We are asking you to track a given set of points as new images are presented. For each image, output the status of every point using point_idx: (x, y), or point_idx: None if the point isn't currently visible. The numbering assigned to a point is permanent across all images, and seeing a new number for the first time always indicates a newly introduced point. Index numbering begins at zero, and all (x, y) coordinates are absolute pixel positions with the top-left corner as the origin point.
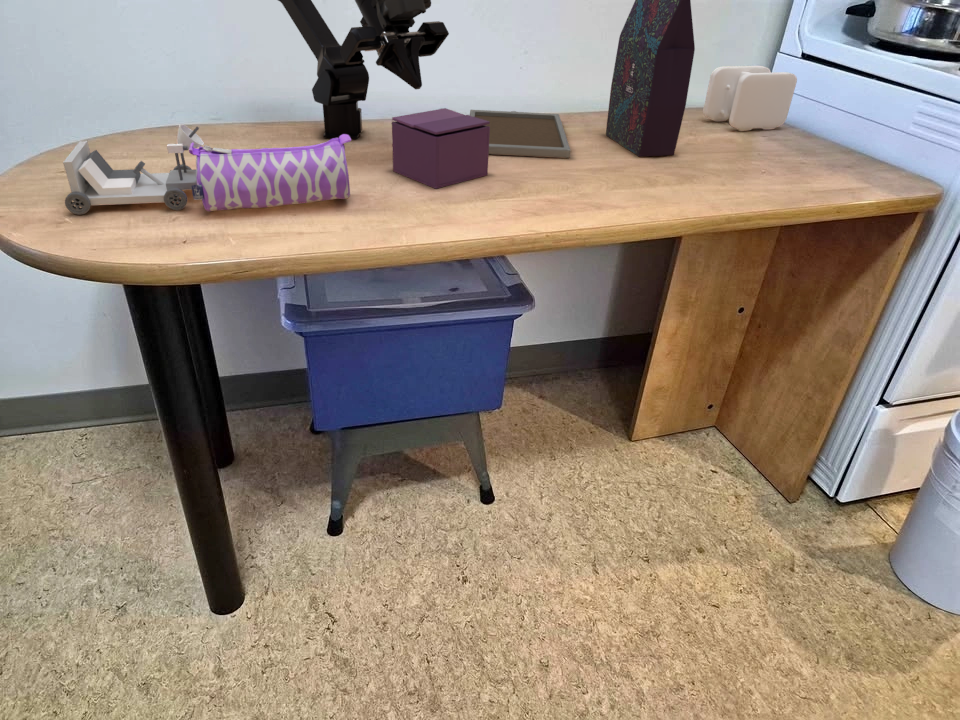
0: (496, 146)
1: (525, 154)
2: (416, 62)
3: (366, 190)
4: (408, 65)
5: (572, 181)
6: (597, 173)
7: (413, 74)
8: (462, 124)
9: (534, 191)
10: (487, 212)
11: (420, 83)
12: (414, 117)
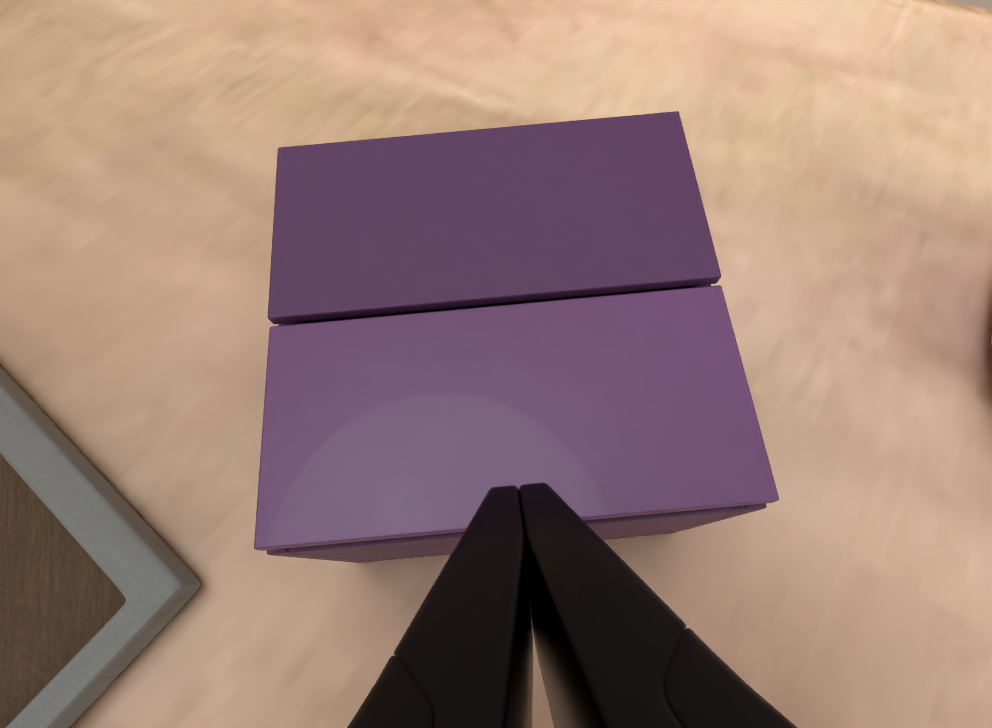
0: (82, 478)
1: (26, 394)
2: (438, 682)
3: (877, 379)
4: (643, 639)
5: (166, 117)
6: (25, 132)
7: (576, 549)
8: (453, 164)
9: (346, 108)
10: (593, 55)
11: (507, 491)
12: (622, 429)
